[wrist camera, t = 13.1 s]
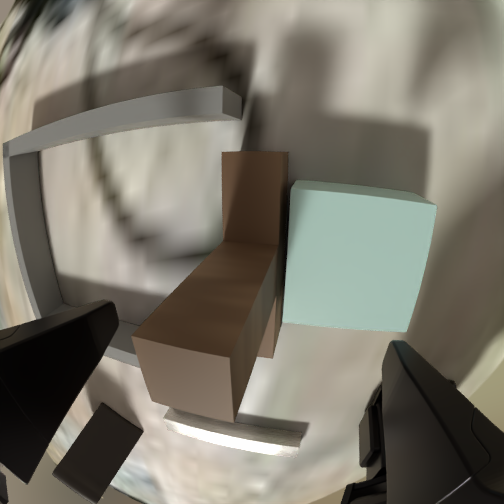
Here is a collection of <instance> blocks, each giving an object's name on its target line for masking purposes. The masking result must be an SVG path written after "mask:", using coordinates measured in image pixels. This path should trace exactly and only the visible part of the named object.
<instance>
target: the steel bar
mask: <svg viewBox="0 0 504 504" xmlns="http://www.w3.org/2000/svg"><path fill="white" fill-rule="evenodd" d="M163 419H164V422H165V424H166V427H167V430H170V431H173V432H176V433H179V434H183V435H186V436H189V437H193V438H196V439H200V440H204V441H207V442H211V443H215V444H219V445H224V446H228V447H233V448H237V449H242V450H248V451H253V452H259V453H265V454H271V455H278V456H286V457H295V458H296V457H297V454H298V451H299V448H300V442H301V435H302V432H295V431H286V430H279V429H272V428H265V427H259V426H253V425H248V424H242V423H237V422H234V423H232V422H227V421H222V420H218V419H213V418H209V417H205V416H201V415H197V414H193V413H190V412H186V411H182V410H179V409H176V408H172V407H170V408H169V409H168V411H167V413H166V414H165V416H164V418H163Z"/></svg>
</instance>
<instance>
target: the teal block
mask: <svg viewBox="0 0 504 504" xmlns="http://www.w3.org/2000/svg"><path fill="white" fill-rule="evenodd" d="M436 210H437V205H435V204H434V203H432V202H430V201H428V200H426V199H424V198H423V197H421V196H419V195H417V194H415V193H413V192H407V191H400V190H393V189H386V188H378V187H370V186H361V185H352V184H342V183H332V182H320V181H308V180H296V182H295V183H294V185H293V186H292V187H291V193H290V215H289V234H288V251H287V267H286V281H285V295H284V308H283V320H282V322H285V323H294V324H303V325H312V326H323V327H333V328H345V329H358V330H373V331H390V332H407V329H408V326H409V323H410V320H411V317H412V313H413V310H414V307H415V304H416V300H417V297H418V293H419V290H420V286H421V282H422V279H423V275H424V271H425V267H426V262H427V258H428V253H429V249H430V244H431V239H432V234H433V228H434V222H435V216H436Z"/></svg>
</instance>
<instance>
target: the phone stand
mask: <svg viewBox="0 0 504 504" xmlns="http://www.w3.org/2000/svg"><path fill="white" fill-rule="evenodd" d="M142 434H143V431H142V430H140V429H139V428H137V427H136V426H134V425H133V424H131V423H130V422H128V421H127V420H125V419H124V418H123V417H121V416H120V415H118V414H117V413H116V412H114V411H113V410H111V409H110V408H109V407H107V406H106V405H105V404H104V403H101V405H100V406H99V407H98V409H97V410H96V412H95V413H94V414H93V416H92V417H91V419H90V420H89V421H88V423H87V424H86V426H85V427H84V429H83V430H82V431H81V433H80V434H79V436H78V437H77V439H76V440H75V442H74V443H73V444H72V446H71V447H70V449H69V450H68V452H67V453H66V455H65V456H64V457H63V459H62V460H61V461H60V463H59V464H58V465H57V467H56V468H55V470H54V471H53V473H52V475H53V476H54V477H56V478H57V479H58V480H60V481H61V482H62V483H64V484H65V485H66V486H67V487H69V488H70V489H72V490H73V491H74V492H76V493H77V494H79V495H80V496H82V497H83V498H85V499H86V500H88V501H89V502H91V503H92V504H97V503H98V501H99V500H100V498H101V497H102V495H103V493H104V492H105V490H106V489H107V487H108V486H109V484H110V483H111V481H112V479H113V478H114V476H115V475H116V473H117V472H118V470H119V469H120V467H121V466H122V464H123V463H124V461H125V460H126V458H127V457H128V455H129V454H130V452H131V450H132V449H133V447H134V446H135V444H136V443H137V441H138V440H139V438H140V437H141V435H142Z"/></svg>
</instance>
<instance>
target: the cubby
mask: <svg viewBox="0 0 504 504" xmlns="http://www.w3.org/2000/svg"><path fill="white" fill-rule="evenodd" d="M226 120H242V97H240V96H239V95H237V94H236V93H234V92H232V91H231V90H229V89H228V88H226V87H224V86H212V87H203V88H194V89H187V90H180V91H173V92H167V93H161V94H155V95H150V96H145V97H140V98H135V99H131V100H127V101H122V102H118V103H114V104H110V105H106V106H103V107H99V108H96V109H92V110H89V111H85V112H82V113H79V114H76V115H73V116H70V117H67V118H64V119H61V120H58V121H55V122H53V123H50V124H47V125H45V126H42V127H40V128H37V129H35V130H32V131H30V132H28V133H25V134H23V135H21V136H18V137H16V138H14V139H12V140H10V141H8V142H5V143H3V165H4V180H5V190H6V199H7V206H8V213H9V220H10V225H11V231H12V236H13V241H14V246H15V250H16V254H17V259H18V263H19V266H20V270H21V274H22V277H23V281H24V284H25V288H26V291H27V294H28V297H29V300H30V303H31V306H32V309H33V312H34V315H35V317H36V320H37V319H40V318H44V317H47V316H50V315H54V314H57V313H60V312H64V311H67V310H70V309H74V308H76V307H72V306H69V305H66V304H63V301H62V297H61V294H60V290H59V287H58V283H57V279H56V275H55V271H54V267H53V263H52V259H51V254H50V250H49V245H48V240H47V234H46V228H45V222H44V216H43V209H42V201H41V193H40V182H39V169H38V151H41V150H44V149H48V148H51V147H55V146H58V145H62V144H66V143H70V142H74V141H78V140H83V139H87V138H92V137H97V136H101V135H106V134H112V133H117V132H123V131H129V130H135V129H142V128H149V127H156V126H164V125H173V124H183V123H194V122H208V121H226ZM139 327H140V326H138V325H134V324H130V323H126V322H123V321H119V327H118V329H117V331H116V333H115V335H114V336H113V338H112V340H111V342H110V344H109V346H108V347H107V349H106V351H105V353H104V356H107V357H109V358H112V359H115V360H118V361H121V362H123V363H126V364H129V365H132V366H135V367H138V368H140V365H139V361H138V358H137V355H136V351H135V348H134V345H133V341H132V337H131V335H132V334H133V333H134V332H135V331H136V330H137V329H138V328H139Z"/></svg>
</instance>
